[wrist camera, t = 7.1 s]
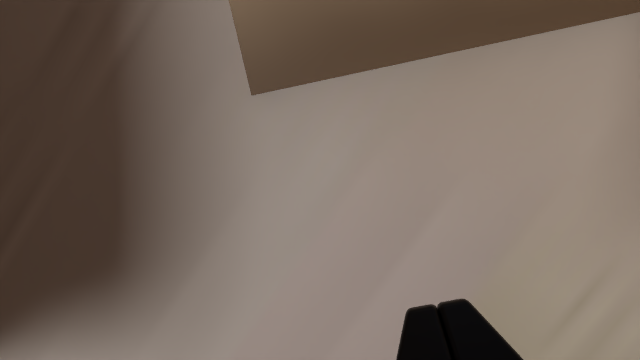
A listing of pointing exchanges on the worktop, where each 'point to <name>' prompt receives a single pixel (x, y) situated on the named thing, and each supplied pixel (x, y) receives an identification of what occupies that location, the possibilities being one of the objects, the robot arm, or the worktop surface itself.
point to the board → (387, 32)
